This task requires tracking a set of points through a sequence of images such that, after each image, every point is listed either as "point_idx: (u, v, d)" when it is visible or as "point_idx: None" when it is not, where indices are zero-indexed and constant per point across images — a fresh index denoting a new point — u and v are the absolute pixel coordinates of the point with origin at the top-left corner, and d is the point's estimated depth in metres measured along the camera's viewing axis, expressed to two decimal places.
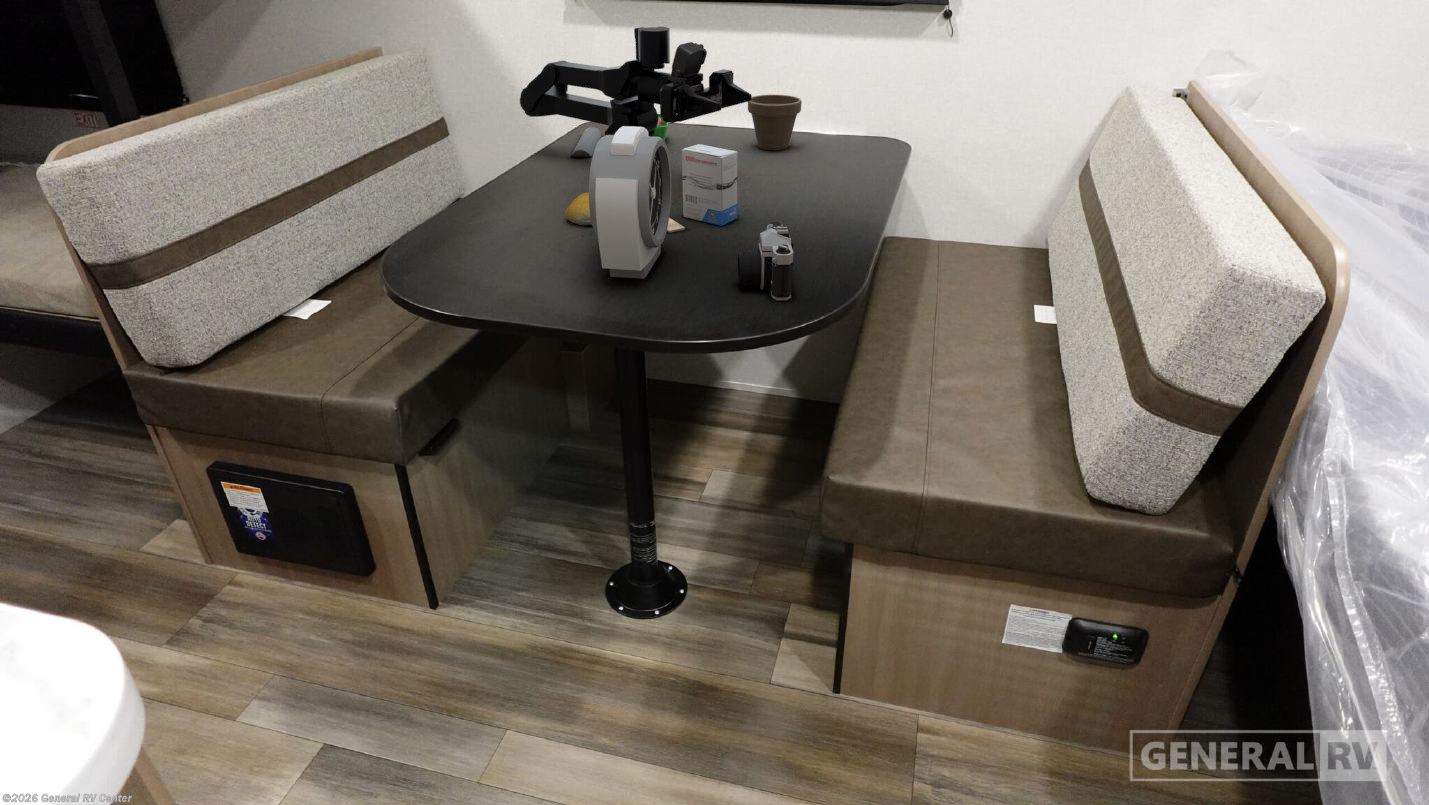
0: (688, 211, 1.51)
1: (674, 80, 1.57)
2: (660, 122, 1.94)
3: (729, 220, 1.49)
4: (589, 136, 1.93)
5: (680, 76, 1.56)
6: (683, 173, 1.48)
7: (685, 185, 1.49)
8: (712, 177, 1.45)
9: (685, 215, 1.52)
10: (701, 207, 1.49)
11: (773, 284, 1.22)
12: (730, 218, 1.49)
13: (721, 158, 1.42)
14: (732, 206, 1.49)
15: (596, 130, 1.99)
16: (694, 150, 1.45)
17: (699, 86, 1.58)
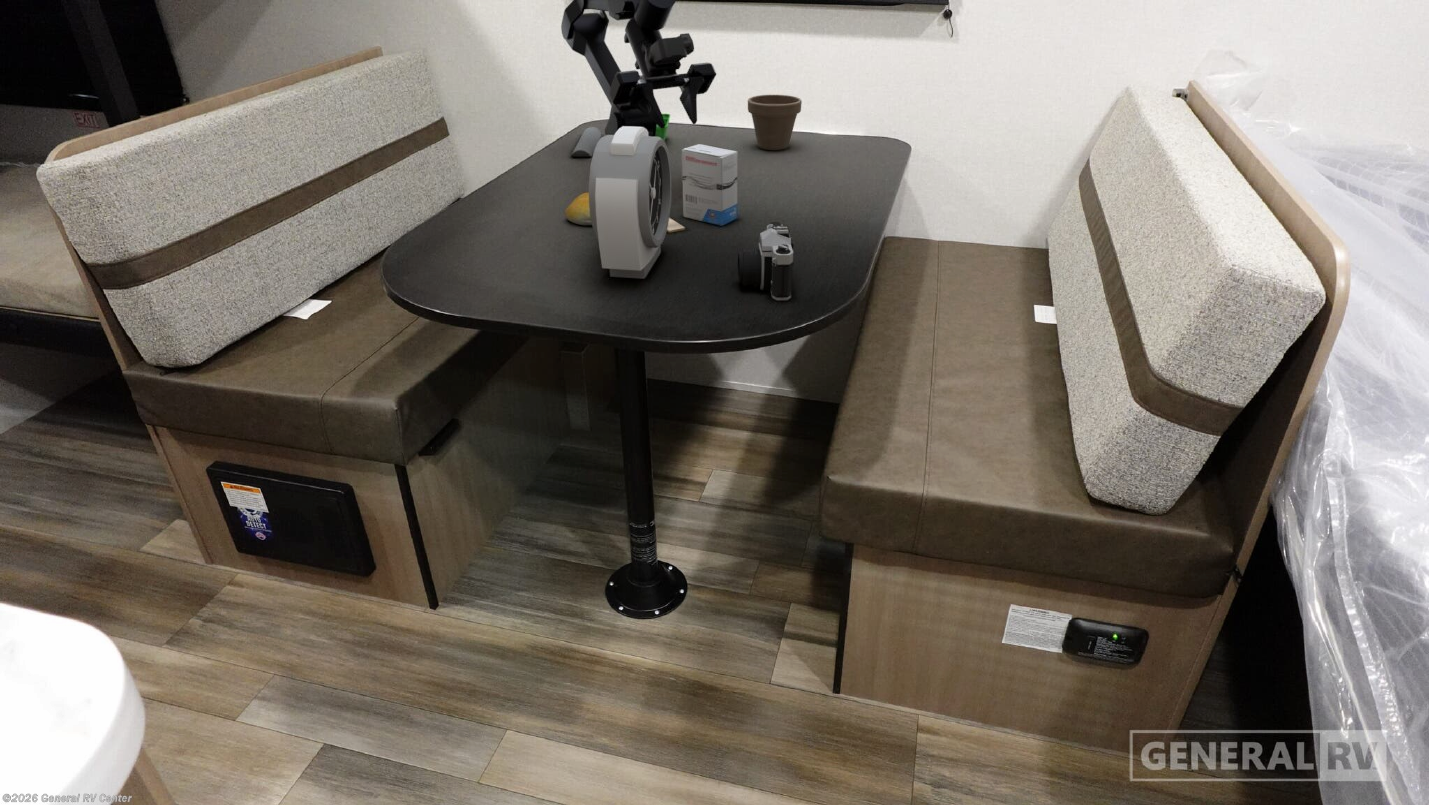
0: (689, 211, 1.51)
1: (646, 59, 1.51)
2: None
3: (729, 220, 1.49)
4: (589, 136, 1.93)
5: (651, 61, 1.51)
6: (683, 173, 1.48)
7: (685, 185, 1.49)
8: (712, 177, 1.45)
9: (685, 215, 1.52)
10: (701, 207, 1.49)
11: (773, 284, 1.22)
12: (730, 218, 1.49)
13: (721, 158, 1.42)
14: (732, 206, 1.49)
15: (596, 130, 1.99)
16: (694, 150, 1.45)
17: (675, 76, 1.54)
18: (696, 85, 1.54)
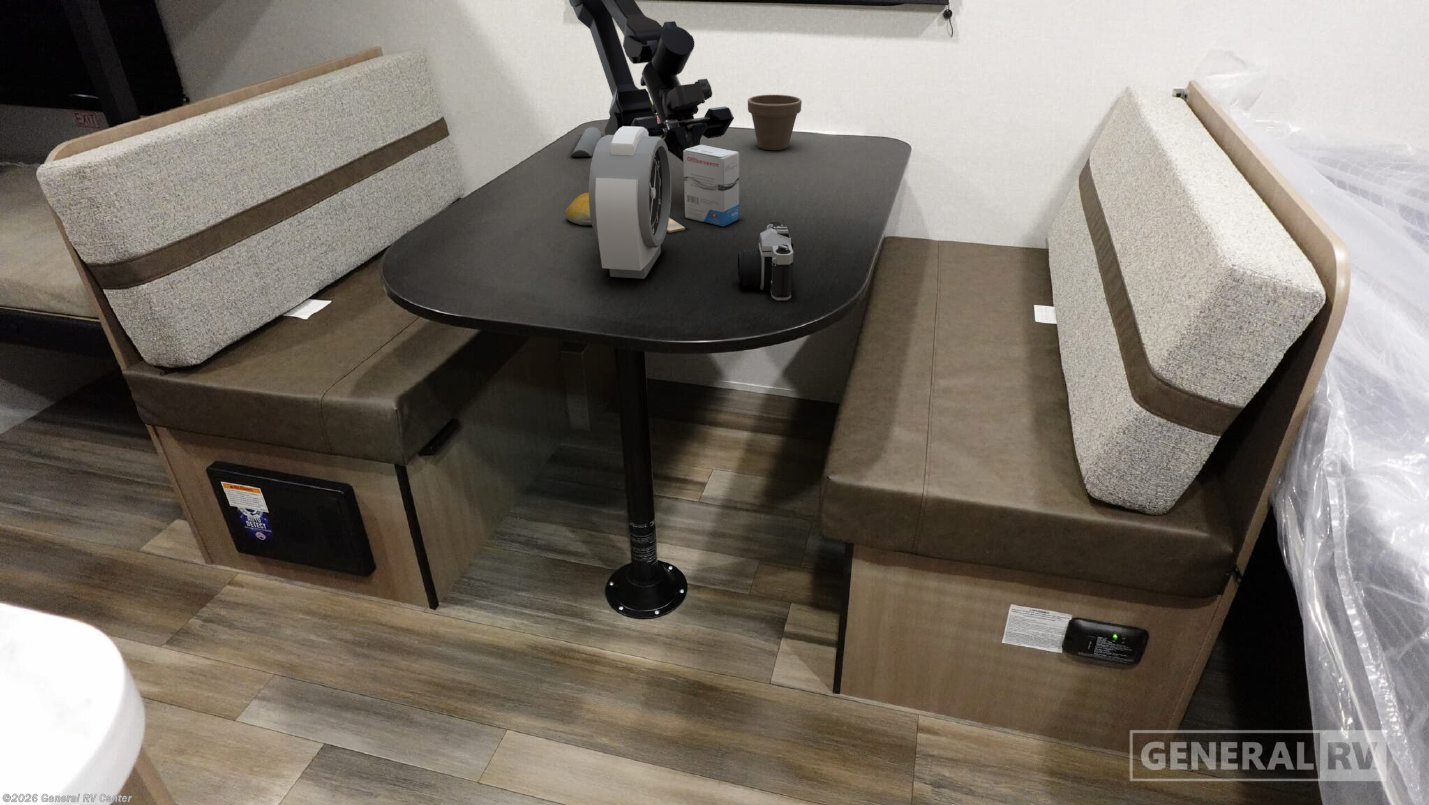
0: (690, 211, 1.51)
1: (663, 105, 1.50)
2: (660, 122, 1.94)
3: (731, 221, 1.49)
4: (589, 136, 1.93)
5: (669, 107, 1.49)
6: (685, 173, 1.48)
7: (687, 186, 1.49)
8: (714, 178, 1.44)
9: (687, 216, 1.51)
10: (703, 208, 1.49)
11: (773, 284, 1.22)
12: (732, 219, 1.49)
13: (722, 159, 1.42)
14: (733, 207, 1.48)
15: (596, 130, 1.99)
16: (696, 151, 1.45)
17: (707, 119, 1.54)
18: (699, 132, 1.51)
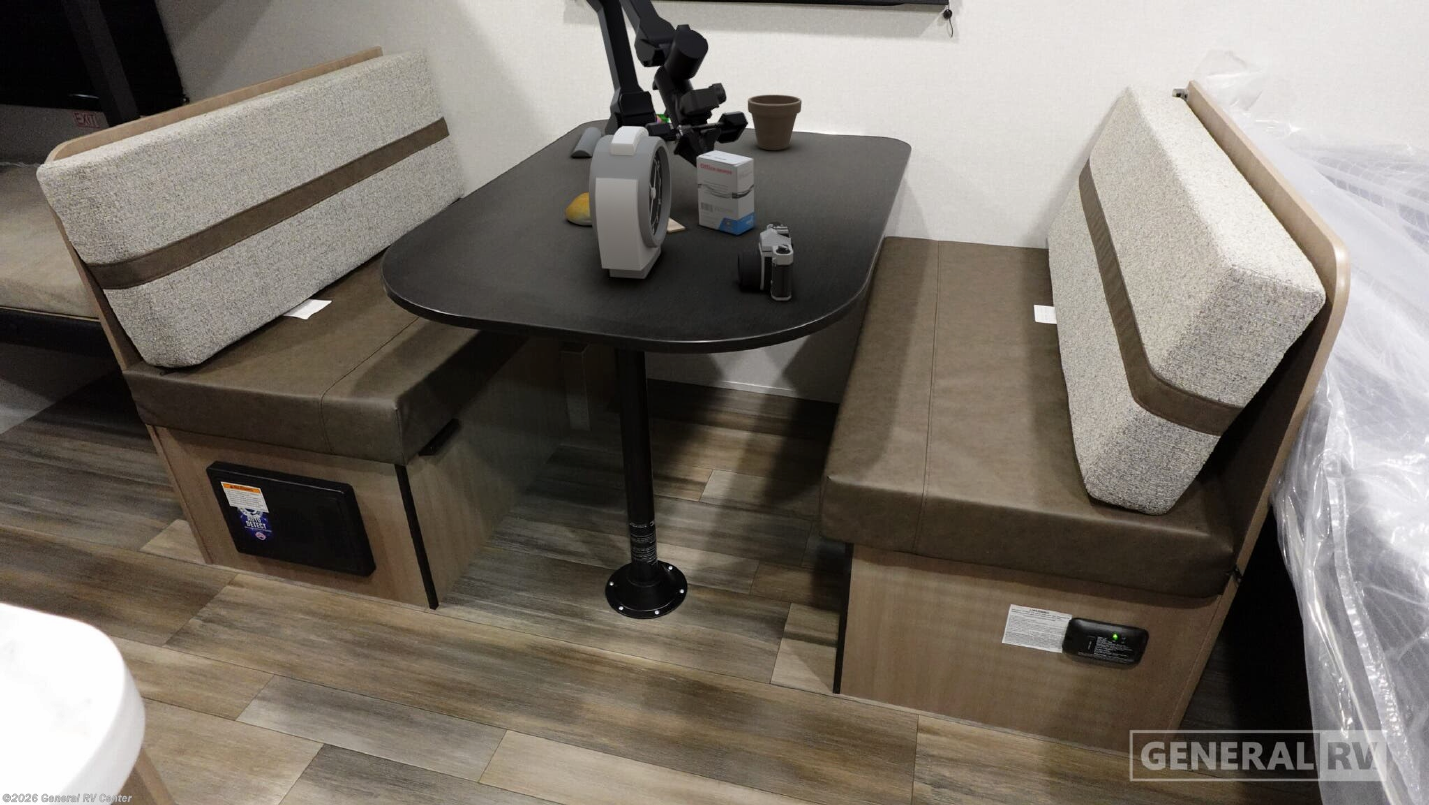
0: (704, 219, 1.47)
1: (676, 110, 1.46)
2: None
3: (745, 229, 1.45)
4: (590, 136, 1.93)
5: (682, 112, 1.46)
6: (699, 180, 1.44)
7: (700, 193, 1.45)
8: (727, 185, 1.41)
9: (701, 223, 1.48)
10: (717, 216, 1.45)
11: (773, 284, 1.22)
12: (747, 226, 1.45)
13: (736, 166, 1.38)
14: (748, 215, 1.45)
15: (596, 130, 1.99)
16: (709, 158, 1.41)
17: (721, 124, 1.50)
18: (713, 137, 1.48)
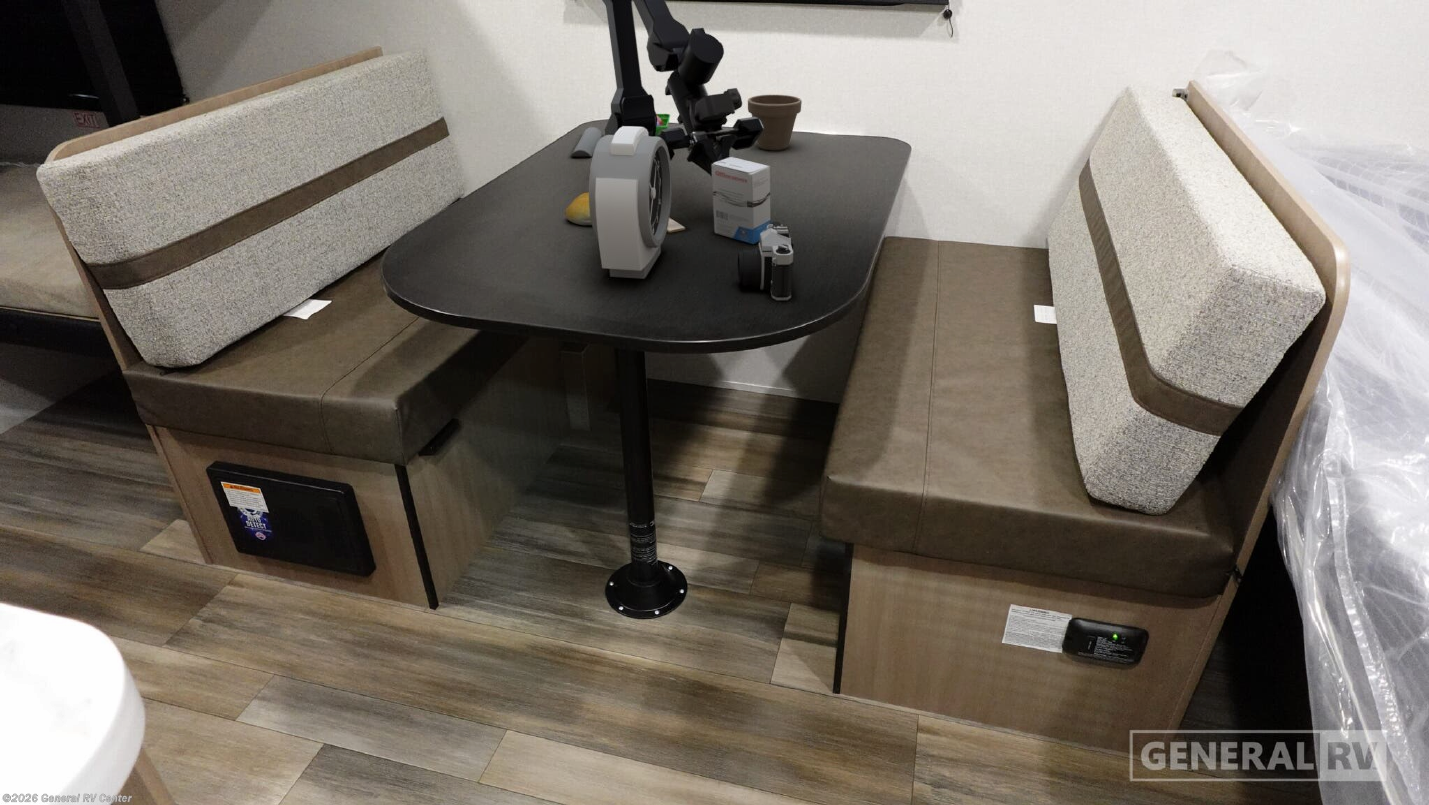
0: (720, 227, 1.44)
1: (690, 116, 1.42)
2: (660, 122, 1.94)
3: None
4: (590, 136, 1.93)
5: (697, 118, 1.42)
6: (714, 188, 1.41)
7: (715, 201, 1.42)
8: (743, 194, 1.37)
9: (716, 231, 1.45)
10: (732, 224, 1.42)
11: (773, 284, 1.22)
12: None
13: (751, 175, 1.35)
14: (764, 223, 1.41)
15: (596, 130, 1.99)
16: (724, 165, 1.38)
17: (735, 130, 1.46)
18: (729, 144, 1.44)
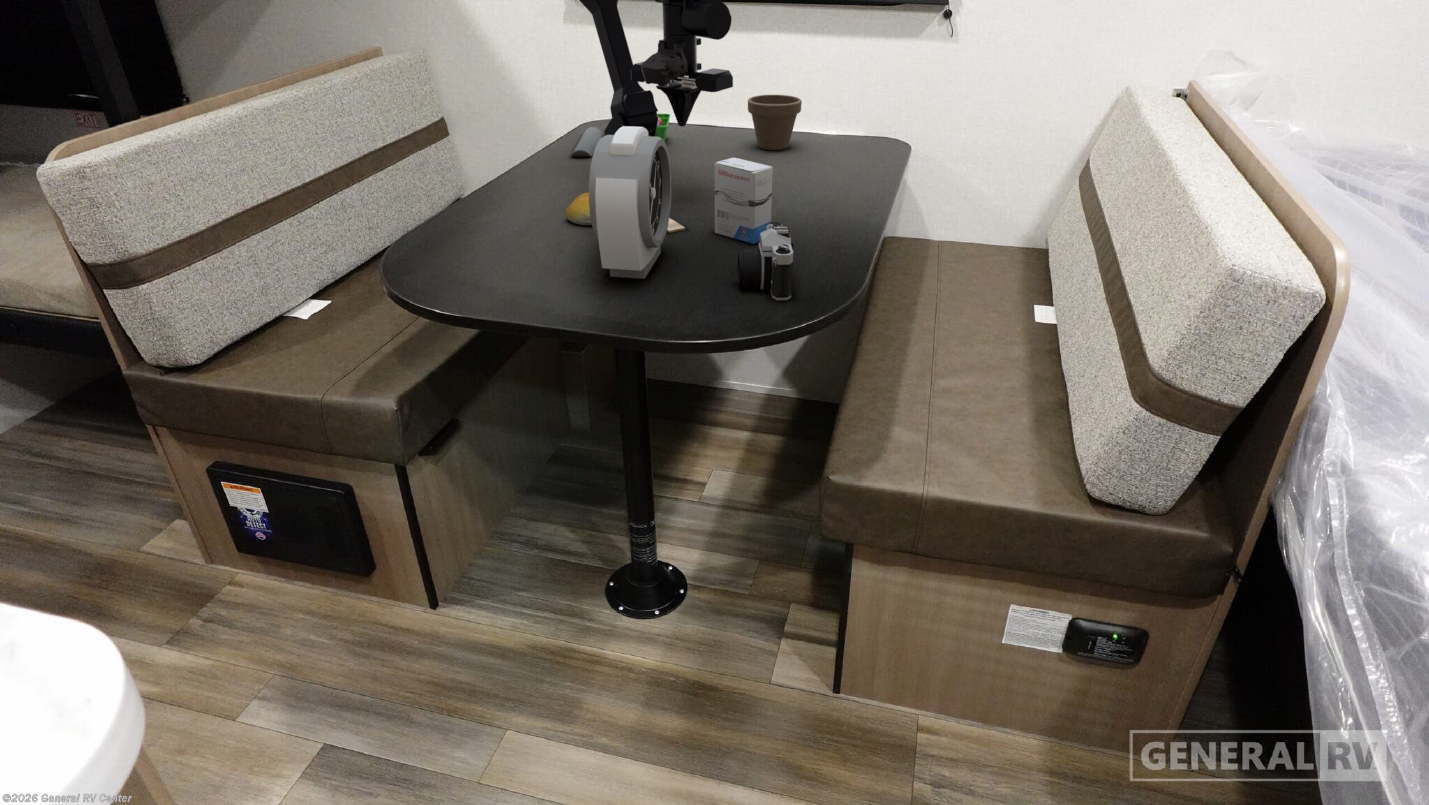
0: (720, 227, 1.44)
1: None
2: (660, 122, 1.94)
3: None
4: (590, 136, 1.93)
5: None
6: (716, 187, 1.41)
7: (717, 200, 1.42)
8: (745, 193, 1.37)
9: (716, 231, 1.45)
10: (733, 224, 1.42)
11: (773, 284, 1.22)
12: None
13: (754, 173, 1.35)
14: (765, 224, 1.41)
15: (597, 130, 1.99)
16: (727, 164, 1.38)
17: None
18: (683, 95, 1.53)
